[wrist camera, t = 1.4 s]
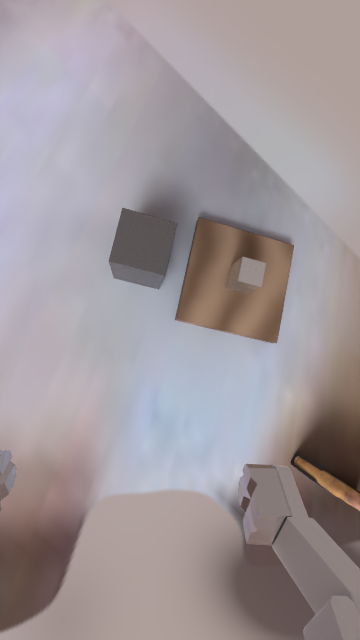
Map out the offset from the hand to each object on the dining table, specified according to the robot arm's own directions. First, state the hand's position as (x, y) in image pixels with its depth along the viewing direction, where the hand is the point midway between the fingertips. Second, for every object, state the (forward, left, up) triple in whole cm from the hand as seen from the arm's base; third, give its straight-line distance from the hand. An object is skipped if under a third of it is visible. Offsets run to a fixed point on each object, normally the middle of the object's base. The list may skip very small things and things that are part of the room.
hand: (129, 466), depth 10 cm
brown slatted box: (+29, -8, -26) cm, 40 cm away
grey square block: (-2, +15, -26) cm, 30 cm away
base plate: (+11, +15, -26) cm, 32 cm away
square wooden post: (+11, +15, -25) cm, 31 cm away
